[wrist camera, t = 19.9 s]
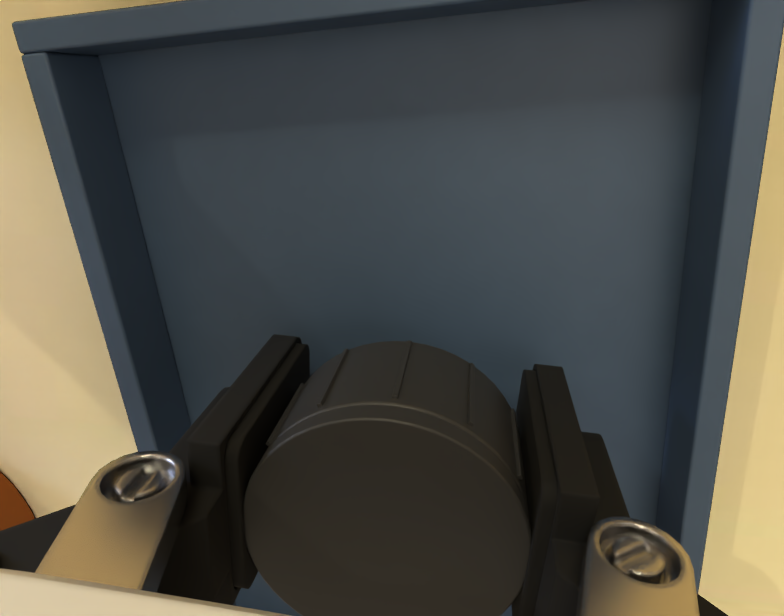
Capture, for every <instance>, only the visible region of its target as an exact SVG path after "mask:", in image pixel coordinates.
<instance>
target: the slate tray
mask: <svg viewBox="0 0 784 616" xmlns="http://www.w3.org/2000/svg"><path fill="white" fill-rule="evenodd" d="M12 27H13V30H14V34H15V37H16V41H17V44H18V47H19V50H20V52H21V53H23V54H24V55H22V61H23V64H24V68H25V71H26V74H27V78H28V81H29V84H30V88H31V91H32V95H33V98H34V101H35V105H36V108H37V111H38V115H39V118H40V122H41V125H42V128H43V132H44V135H45V138H46V142H47V145H48V149H49V152H50V155H51V159H52V162H53V165H54V169H55V172H56V176H57V179H58V182H59V186H60V189H61V192H62V196H63V199H64V203H65V206H66V209H67V213H68V216H69V219H70V223H71V226H72V230H73V233H74V236H75V240H76V243H77V246H78V250H79V253H80V257H81V260H82V263H83V267H84V270H85V273H86V277H87V280H88V284H89V287H90V290H91V294H92V297H93V300H94V304H95V307H96V311H97V314H98V317H99V321H100V324H101V327H102V331H103V334H104V338H105V341H106V344H107V348H108V351H109V354H110V358H111V361H112V365H113V368H114V371H115V375H116V378H117V381H118V385H119V388H120V392H121V395H122V398H123V402H124V405H125V408H126V412H127V415H128V419H129V422H130V425H131V429H132V432H133V435H134V439H135V442H136V446H137V449H138V452H142V451H163V452H167V453H169V451H170V450H171V449H172V448H173V447H174V446H175V444H176V443H177V442H178V441H179V440H180V438H181V437H182V436H183V435H184V434H185V432H186V431H187V430H188V429H189V428H190V427H191V425H192V424H193V423H194V422H195V421H196V419H197V418H198V417H199V416H200V415H201V413H202V412H203V411H204V410H205V409H206V408H207V406H208V405H209V404H210V403H211V402H212V400H213V399H214V398H215V397H216V396H217V394H218V393H219V392H220V391H221V390H222V389H223V388H225V387H230V386H231V385H232V384H233V383H234V382H235V380H236V379H237V378H238V377H239V375H240V374H241V373H242V372H243V371H244V369H245V368H246V367H247V366H248V364H249V363H250V362H251V361H252V360H253V358H254V357H255V356H256V355H257V354H258V352H259V351H260V350H261V349H262V347H263V346H264V345H265V344H266V343H267V341H268V340H269V339H270V338H271V336H272V335H274V334H278V335H286V336H295V337H300V339H301V342H302V344H308V346H309V350H310V376H311V375H312V374H313V373H314V372H315V371H316V370H317V369H318V368H319V367H321V366H322V365H323V364H324V363H326V362H327V361H329V360H330V359H332V358H333V357H335V356H336V355H339V354H341V353H342V352H343V350H344V349H347V348H348V350H349V349H352V348H355V347H358V346H361V345H366V344H371V343H376V342H385V341H407V340H408V341H412V342H415V343H421V344H426V345H430V346H433V347H437V348H440V349H443V350H445V351H447V352H450V353H452V354H454V355H457V356H458V357H460V358H462V359H464V360H465V361H467V362H469V363H473V364H474V365H475V367H476V368H477V369H478V370H480V371H481V372H482V373H484V374H485V375H486V376H487V377H488V378H489V379H490V380H491V381H492V382H493V383H494V384H495V385H496V387H497V388H498V389H499V390H500V392H501V393H502V394H503V396H504V397H505V399H506V401H507V402H508V404H509V406H510V407H511V409H513V408H514V410H515V412H516V409H517V403H518V397H519V391H520V384H521V378H522V373H523V370H524V369H525V370H532V369H533V366H534V364H542V365H551V366H559V367H562V368H563V370H564V374H565V377H566V381H567V384H568V388H569V391H570V395H571V398H572V402H573V405H574V408H575V412H576V415H577V419H578V422H579V426H580V429H581V431H582V432H590V433H598V434H600V435H601V436H602V438H603V440H604V443H605V446H606V449H607V452H608V455H609V458H610V460H611V463H612V466H613V469H614V472H615V475H616V478H617V481H618V484H619V487H620V490H621V492H622V495H623V498H624V501H625V504H626V507H627V510H628V513H629V516H630V518H633V519H639V520H641V521H644V522H646V523H649V524H652V525H654V526H656V527H658V528H659V529H661V530H663V531H664V532H666V533H668V534H669V535H670V536H671V537H672V538H674V539H675V540H676V541H677V542H678V543H679V544H680V545H681V546H682V547H683V549H684V550H685V551H686V553H687V554H688V555H689V557H690V560H691V563H692V566H693V569H694V577H695V584H696V592H697V594H698V590H699V583H700V576H701V570H702V563H703V557H704V550H705V543H706V537H707V530H708V523H709V517H710V510H711V504H712V497H713V490H714V484H715V477H716V470H717V464H718V457H719V451H720V444H721V437H722V431H723V424H724V418H725V411H726V404H727V398H728V391H729V384H730V378H731V371H732V365H733V358H734V351H735V345H736V338H737V332H738V325H739V318H740V312H741V305H742V298H743V292H744V285H745V279H746V272H747V265H748V259H749V252H750V246H751V239H752V232H753V226H754V219H755V212H756V206H757V199H758V193H759V186H760V179H761V173H762V166H763V159H764V153H765V146H766V140H767V133H768V126H769V120H770V113H771V107H772V100H773V93H774V87H775V80H776V73H777V67H778V60H779V54H780V47H781V40H782V34H783V27H784V0H184V1H176V2H168V3H160V4H152V5H144V6H136V7H128V8H120V9H112V10H104V11H96V12H88V13H80V14H72V15H64V16H56V17H48V18H40V19H32V20H24V21H16V22H14V23H12ZM233 606H239V607H245V608H251V609H257V610H263V611H268V612H274V613H280V614H286V615H292V616H302V615H301V614H299V613H298V612H296V611H295V610H294V609H293V608H291V607H290V606H289V605H288V604H286V603H285V602H284V601H283V600H282V599H281V598H280V597H279V596H278V595H277V594H276V593H275V592H274V591H273V590H272V589H271V588H270V586H269V585H268V584H267V583H266V581H265V580H264V579H263V578H262V576H261V574H260V573H259V571H258V573H257V575H256V577H255V579H254V581H253V583H252V585H251V587H250V588H249V589H245V588H241V589H240V591H239V593H238V596H237V598H236V600H235V602H234V604H233ZM501 616H512V605H511V606H510V607H509V608H508V609H507V610H506V611H505V612H504V613H503V614H502V615H501Z"/></svg>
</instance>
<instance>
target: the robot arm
mask: <svg viewBox="0 0 784 616" xmlns="http://www.w3.org/2000/svg"><path fill="white" fill-rule="evenodd" d="M309 378H310V350H309V346H308V344H302V342H301V339H300V337H295V336H286V335H278V334H274V335H272V336H271V338H270V339H269V340H268V341H267V343H266V344H265V345H264V346H263V347H262V349H261V350H260V351H259V352H258V354H257V355H256V356H255V357H254V358H253V360H252V361H251V362H250V363H249V364H248V366H247V367H246V368H245V369H244V371H243V372H242V373H241V374H240V375H239V377H238V378H237V379H236V380H235V382H234V383H233V384H232V385H231V386H230V387H225V388H223V389H222V390H221V391H220V392H219V393H218V394H217V396H216V397H215V398H214V399H213V400H212V402H211V403H210V404H209V405H208V406H207V408H206V409H205V410H204V411H203V412H202V413H201V415H200V416H199V417H198V418H197V419H196V421H195V422H194V423H193V424H192V425H191V427H190V428H189V429H188V430H187V431H186V432H185V434H184V435H183V436H182V437H181V438H180V440H179V441H178V442H177V443H176V444H175V446H174V447H173V448H172V449H171V450H170V451H169V453H167V452H163V451H142V452H136V453H132V454H128V455H125V456H122V457H120V458H118V459H116V460H113V461H111V462H110V463H108V464H107V465H105V466H104V467H103V468H101V469H100V470H99V471H98V472H97V473H96V475H95V476H94V477H93V478H92V479H91V481H90V483H89V484H88V486H87V488H86V489H85V491H84V493H83V494H82V496H81V498H80V499H79V501H78V502H77V504H76V505H74V506H71V507H68V508H65V509H62V510H59V511H56V512H53V513H51V514H48V515H45V516H42V517H39V518H36V519H33V520H30V521H27V522H24V523H22V524H19V525H16V526H13V527H10V528H7V529H4V530H1V531H0V616H292V615H286V614H280V613H274V612H268V611H263V610H257V609H251V608H245V607H239V606H233V604H234V602H235V600H236V598H237V596H238V593H239V591H240V589H241V588H245V589H249V588H250V587H251V585H252V583H253V581H254V579H255V577H256V575H257V573H258V569H257V568H256V566H255V565H254V562H253V560H252V558H251V556H250V554H249V551H248V548H247V545H246V540H245V528H244V509H243V502H244V495H245V491H246V488H247V485H248V483H249V480H250V478H251V476H252V474H253V473H254V471H255V469H256V467H257V466H258V464H259V462H260V460H261V459H262V457H263V455H264V453H265V452H266V450H267V448H268V446H267V445H266V442H267V440H268V439H269V437H270V435H271V434H272V432H273V430H274V429H275V427H276V425H277V423H278V422H279V420H280V418H281V417H282V415H283V413H284V411H285V410H286V408H287V406H288V405H289V403H290V401H291V400H292V398H293V396H294V394H295V393H296V391H297V389H298V388H299V386H300V384H301V383H303V384H305V383H306V381H307V380H308V379H309ZM516 421H517V426H518V431H519V435H520V443H521V451H522V460H523V468H524V477H525V485H526V493H527V502H528V510H529V519H530V527H531V537H532V540H531V547H530V553H529V558H528V564H527V569H526V574H525V579H524V583H523V587H522V589H521V591H520V593H519V595H518V596H517V597H516V599H515V600H514V602H513V603H512V604H511V605H512V616H728V615H727V614H725V613H724V612H722V611H721V610H719V609H718V608H717V607H715V606H714V605H712V604H711V603H710V602H708V601H707V600H705V599H704V598H703V597H701V596H700V595H698V594H697V592H696V584H695V577H694V569H693V566H692V563H691V560H690V557H689V555H688V554H687V553H686V551H685V550H684V549H683V547H682V546H681V545H680V544H679V543H678V542H677V541H676V540H675V539H674V538H672V537H671V536H670V535H669V534H668V533H666V532H664V531H663V530H661V529H659V528H658V527H656V526H654V525H652V524H649V523H646V522H644V521H641V520H639V519H633V518H630V516H629V513H628V510H627V507H626V504H625V501H624V498H623V495H622V492H621V490H620V487H619V484H618V481H617V478H616V475H615V472H614V469H613V466H612V463H611V460H610V458H609V455H608V452H607V449H606V446H605V443H604V440H603V438H602V436H601V435H600V434H598V433H590V432H582V431H581V429H580V426H579V422H578V419H577V415H576V412H575V408H574V405H573V402H572V398H571V395H570V391H569V388H568V384H567V381H566V377H565V374H564V370H563V368H562V367H559V366H551V365H542V364H534V366H533V369H532V370H525V369H524V370H523V373H522V378H521V384H520V391H519V397H518V403H517V409H516Z"/></svg>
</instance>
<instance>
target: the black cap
mask: <svg viewBox="0 0 784 616" xmlns="http://www.w3.org/2000/svg"><path fill="white" fill-rule="evenodd" d="M266 445H267V446H268V448H267V450H266V452H265V453H264V455H263V457H262V459H261V460H260V462H259V464H258V466H257V467H256V469H255V471H254V473H253V474H252V476H251V478H250V480H249V483H248V485H247V488H246V491H245V495H244V502H243V509H244V528H245V540H246V545H247V548H248V551H249V554H250V556H251V558H252V560H253V562H254V565H255V566H256V568H257V569H258V571H259V573H260V574H261V576H262V578H263V579H264V580H265V581H266V583H267V584H268V585H269V586H270V588H271V589H272V590H273V591H274V592H275V593H276V594H277V595H278V596H279V597H280V598H281V599H282V600H283V601H284V602H285V603H286V604H288V605H289V606H290V607H291V608H293V609H294V610H295V611H296V612H298V613H299V614H301V615H302V616H501V615H502V614H503V613H504V612H505V611H506V610H507V609H508V608H509V607H510V606H511V604H512V603H513V602H514V600H515V599H516V597H517V596H518V595H519V593H520V591H521V589H522V587H523V583H524V579H525V574H526V569H527V564H528V558H529V553H530V547H531V540H532V537H531V527H530V519H529V510H528V502H527V493H526V485H525V477H524V468H523V460H522V451H521V443H520V435H519V431H518V426H517V421H516V412H515V410H514V408H513V409H511V407H510V406H509V404H508V402H507V401H506V399H505V397H504V396H503V394H502V393H501V392H500V390H499V389H498V388H497V387H496V385H495V384H494V383H493V382H492V381H491V380H490V379H489V378H488V377H487V376H486V375H485V374H484V373H482V372H481V371H480V370H478V369H477V368H476V367H475V365H474V364H473V363H469V362H467V361H465V360H464V359H462V358H460V357H458V356H457V355H454V354H452V353H450V352H447V351H445V350H443V349H440V348H437V347H433V346H430V345H426V344H421V343H415V342H412V341H408V340H407V341H385V342H376V343H371V344H366V345H361V346H358V347H355V348H352V349H349V350H348V348H347V349H344V350H343V352H342V353H341V354H339V355H336V356H335V357H333V358H332V359H330V360H329V361H327V362H326V363H324V364H323V365H322V366H321V367H319V368H318V369H317V370H316V371H315V372H314V373H313V374H312V375H311V376H310V378H309V379H308V380H307V381H306V383H305V384H303V383H301V384H300V386H299V388H298V389H297V391H296V393H295V394H294V396H293V398H292V400H291V401H290V403H289V405H288V406H287V408H286V410H285V411H284V413H283V415H282V417H281V418H280V420H279V422H278V423H277V425H276V427H275V429H274V430H273V432H272V434H271V435H270V437H269V439H268V440H267V442H266Z"/></svg>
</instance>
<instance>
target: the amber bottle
mask: <svg viewBox="0 0 784 616" xmlns="http://www.w3.org/2000/svg"><path fill="white" fill-rule="evenodd" d="M33 519H35V518H34V516H33V513H32V511H31V510H30V508H29V506H28V505H27V503H26V501H25V500H24V499H23V497H22V496H21V495H20V493H19V492H18V491H17V489H16V488H15V487H14V486H13V485H12V483H11V482H10V481H9V480H8V479H7V478H6V477H5V476H4V475H3V474H2V473H1V472H0V531H1V530H4V529H7V528H10V527H13V526H16V525H19V524H22V523H24V522H27V521H30V520H33Z"/></svg>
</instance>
